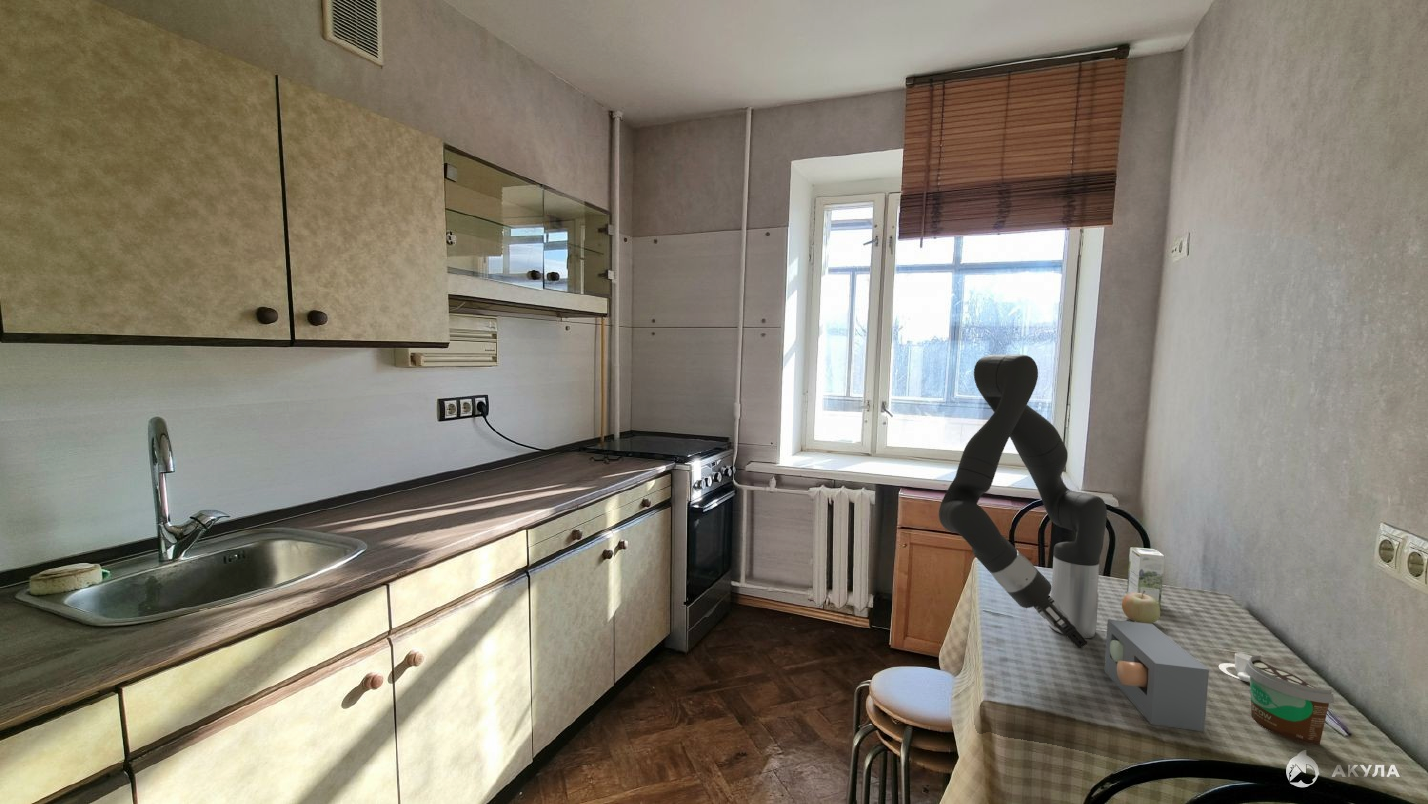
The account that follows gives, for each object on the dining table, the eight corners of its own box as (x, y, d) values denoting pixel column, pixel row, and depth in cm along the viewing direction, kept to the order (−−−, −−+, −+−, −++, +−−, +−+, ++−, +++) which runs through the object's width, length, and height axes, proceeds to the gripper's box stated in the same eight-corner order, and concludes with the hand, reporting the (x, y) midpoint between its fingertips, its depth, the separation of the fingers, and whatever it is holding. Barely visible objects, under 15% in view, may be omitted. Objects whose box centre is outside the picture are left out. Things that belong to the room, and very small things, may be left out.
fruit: (1147, 616, 144) (1149, 585, 143) (1165, 629, 137) (1167, 597, 136) (1114, 613, 145) (1116, 583, 145) (1130, 626, 138) (1132, 594, 137)
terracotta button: (1126, 688, 102) (1128, 667, 101) (1116, 677, 106) (1117, 656, 105) (1152, 692, 101) (1153, 670, 101) (1140, 680, 105) (1141, 659, 104)
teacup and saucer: (1262, 691, 111) (1264, 671, 111) (1210, 672, 118) (1212, 653, 117) (1276, 679, 115) (1278, 660, 115) (1226, 662, 122) (1227, 643, 122)
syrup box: (1149, 599, 155) (1153, 548, 154) (1161, 608, 149) (1165, 554, 148) (1125, 597, 156) (1129, 546, 155) (1136, 606, 150) (1140, 552, 149)
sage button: (1118, 665, 110) (1120, 645, 110) (1109, 655, 114) (1110, 636, 113) (1142, 668, 109) (1143, 648, 109) (1131, 658, 113) (1133, 638, 113)
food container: (1222, 706, 105) (1226, 654, 104) (1252, 705, 105) (1257, 653, 105) (1296, 751, 92) (1301, 692, 92) (1330, 749, 93) (1335, 691, 92)
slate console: (1151, 724, 99) (1155, 663, 98) (1104, 671, 116) (1107, 619, 116) (1204, 731, 97) (1209, 669, 96) (1148, 676, 115) (1152, 623, 114)
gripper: (1046, 577, 107) (1114, 648, 106) (1023, 556, 120) (1083, 618, 118) (1014, 601, 109) (1080, 672, 107) (995, 577, 122) (1054, 640, 120)
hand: (1082, 644), depth 113 cm, fingers closed
